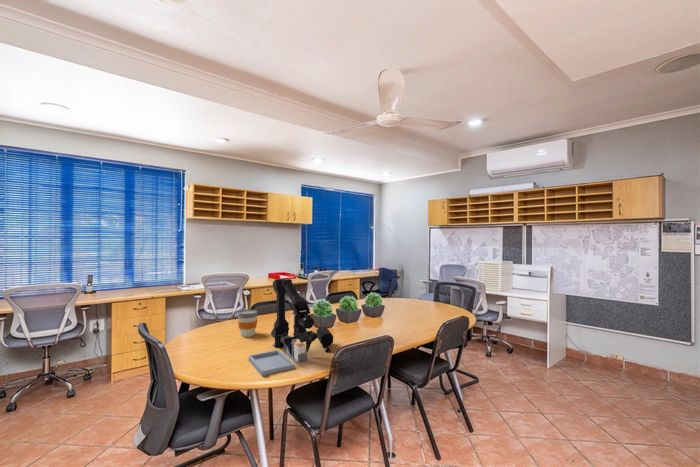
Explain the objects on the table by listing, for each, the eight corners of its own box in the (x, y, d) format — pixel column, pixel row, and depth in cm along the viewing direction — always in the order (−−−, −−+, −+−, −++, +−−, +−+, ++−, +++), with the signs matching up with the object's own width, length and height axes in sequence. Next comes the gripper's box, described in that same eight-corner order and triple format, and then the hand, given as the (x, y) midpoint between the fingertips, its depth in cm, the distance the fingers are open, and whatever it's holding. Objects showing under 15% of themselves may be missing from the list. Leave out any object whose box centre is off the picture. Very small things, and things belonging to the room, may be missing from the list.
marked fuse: (293, 357, 172) (294, 342, 172) (299, 355, 174) (300, 341, 174) (298, 360, 167) (298, 345, 167) (304, 359, 169) (304, 344, 169)
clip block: (281, 351, 182) (281, 344, 182) (294, 348, 186) (294, 341, 186) (295, 364, 164) (295, 356, 164) (310, 361, 168) (310, 353, 168)
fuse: (286, 350, 181) (286, 336, 181) (291, 349, 183) (292, 335, 183) (290, 354, 176) (290, 339, 176) (296, 353, 178) (296, 338, 178)
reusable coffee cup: (260, 332, 217) (260, 309, 217) (253, 338, 204) (253, 314, 204) (242, 331, 218) (242, 309, 218) (234, 337, 206) (234, 313, 206)
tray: (248, 360, 169) (248, 355, 169) (278, 354, 177) (278, 349, 177) (262, 376, 149) (262, 371, 149) (294, 369, 158) (294, 364, 158)
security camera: (322, 354, 178) (322, 335, 178) (316, 343, 196) (316, 326, 196) (334, 352, 180) (334, 334, 180) (327, 342, 198) (327, 325, 198)
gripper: (288, 330, 159) (288, 362, 159) (322, 325, 169) (321, 355, 169) (280, 325, 168) (280, 355, 168) (312, 320, 178) (312, 348, 178)
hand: (299, 353), depth 170 cm, fingers open, 9 cm apart
